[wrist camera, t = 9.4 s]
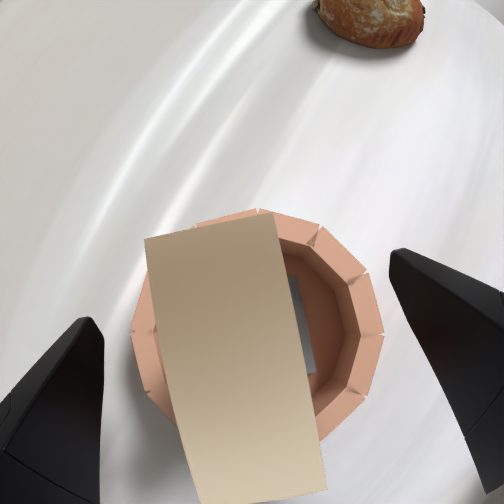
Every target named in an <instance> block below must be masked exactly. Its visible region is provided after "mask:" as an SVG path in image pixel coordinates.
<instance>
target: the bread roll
mask: <svg viewBox="0 0 504 504" xmlns="http://www.w3.org/2000/svg"><path fill="white" fill-rule="evenodd" d="M312 7H313V9H314V10H316V11H317V12H318V14H319V16H320V17H321V18H322V20H323V21H324V22H325V23H326V24H327V25H328V26H329V28H330V29H331V30H332V31H333V32H335V33H336V34H337V35H339V36H340V37H342V38H344V39H346V40H349V41H351V42H354V43H357V44H361V45H364V46H367V47H372V48H389V47H392V48H393V47H401V46H406V45H408V44H410V43H411V42H413V41H415V40H416V39H417V37H418V35H419V34H420V33H421V32H422V31H423V26H424V18H425V16H424V15H423V14H425V7H424V6H423V5H422V3H421V2H420V0H315V1H314V3H313V4H312Z"/></svg>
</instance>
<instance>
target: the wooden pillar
mask: <svg viewBox="0 0 504 504" xmlns="http://www.w3.org/2000/svg"><path fill="white" fill-rule="evenodd" d="M144 243H145V252H146V260H147V268H148V276H149V283H150V290H151V297H152V303H153V310H154V316H155V322H156V328H157V333H158V339H159V344H160V350H161V355H162V360H163V365H164V370H165V374H166V379H167V384H168V388H169V393H170V397H171V401H172V405H173V410H174V414H175V418H176V422H177V426H178V429H179V433H180V437H181V441H182V444H183V448H184V452H185V455H186V459H187V462H188V465H189V469H190V472H191V475H192V479H193V482H194V485H195V488H196V491H197V494H198V497H199V500H200V503H201V504H253V503H260V502H268V501H274V500H280V499H286V498H292V497H297V496H302V495H307V494H311V493H316V492H320V491H324V490H328V489H327V483H326V477H325V471H324V465H323V459H322V453H321V448H320V442H319V436H318V431H317V425H316V420H315V414H314V409H313V403H312V398H311V392H310V387H309V382H308V377H307V374H309V373H313V372H316V367H315V362H314V357H313V352H312V347H311V342H310V337H309V332H308V327H307V322H306V317H305V312H304V307H303V303H302V298H301V293H300V289H299V284H298V279H297V275H295V276H290V277H287V274H286V269H285V265H284V260H283V255H282V251H281V246H280V242H279V237H278V233H277V228H276V224H275V220H274V215H273V212H271V213H266V214H260V215H255V216H250V217H245V218H240V219H236V220H231V221H226V222H221V223H216V224H211V225H207V226H202V227H197V228H193V229H188V230H183V231H179V232H174V233H170V234H165V235H161V236H156V237H152V238H147V239H144Z"/></svg>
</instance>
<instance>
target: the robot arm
mask: <svg viewBox="0 0 504 504" xmlns="http://www.w3.org/2000/svg"><path fill="white" fill-rule="evenodd" d="M389 279H390V282H391V284H392V286H393V289H394V291H395V293H396V295H397V298H398V300H399V302H400V305H401V307H402V309H403V312H404V314H405V316H406V319H407V321H408V323H409V325H410V327H411V329H412V331H413V332H414V334H415V336H416V338H417V340H418V342H419V344H420V345H421V347H422V349H423V351H424V353H425V355H426V357H427V359H428V361H429V363H430V365H431V367H432V369H433V371H434V373H435V375H436V377H437V379H438V381H439V383H440V385H441V387H442V389H443V391H444V393H445V395H446V397H447V400H448V402H449V404H450V406H451V408H452V410H453V413H454V415H455V417H456V419H457V422H458V424H459V426H460V429H461V431H462V433H463V436H464V437H465V441H466V443H467V446H468V448H469V451H470V453H471V456H472V458H473V461H474V463H475V466H476V468H477V471H478V474H479V477H480V479H481V482H482V485H483V488H484V490H485V493H486V494H488V493H490V492H491V491H493V490H495V489H496V488H498V487H500V486H501V485H503V484H504V292H502V291H500V292H499V290H497V289H495V288H493V287H491V286H489V285H487V284H485V283H483V282H481V281H478V280H476V279H474V278H472V277H470V276H468V275H465V274H463V273H461V272H459V271H457V270H454V269H452V268H450V267H448V266H445V265H443V264H441V263H439V262H436V261H434V260H432V259H429V258H427V257H425V256H422V255H420V254H418V253H415V252H413V251H411V250H408V249H406V248H400V249H396V250H393V251H392V252H391V255H390V265H389ZM103 391H104V337H103V335H102V333H101V331H100V330H99V328H98V327H97V325H96V324H95V322H94V320H93V319H92V318H91V317H88V316H87V317H82V318H78V319H77V320H76V321H75V322H74V323H73V324H72V325H71V326H70V327H69V328H68V329H67V330H66V331H65V332H64V333H63V334H62V335H61V336H60V337H59V339H58V340H57V341H56V342H55V343H54V344H53V345H52V346H51V347H50V348H49V349H48V350H47V351H46V352H45V353H44V355H43V356H42V357H41V358H40V359H39V360H38V361H37V362H36V363H35V364H34V365H33V367H32V368H31V369H30V370H29V371H28V372H27V373H26V374H25V375H24V377H23V378H22V379H21V380H20V381H19V382H18V383H17V385H16V386H15V387H14V388H13V389H12V390H11V393H9V394H8V395H7V396H6V397H5V398H4V400H3V401H2V402H1V403H0V504H100V483H99V469H100V434H101V416H102V403H103Z"/></svg>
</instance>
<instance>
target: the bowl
mask: <svg viewBox="0 0 504 504" xmlns="http://www.w3.org/2000/svg"><path fill="white" fill-rule="evenodd" d="M266 213H271V211H268V210H264V209H259V212H258V214H257V211H256V209H252V210H248V211H244V212H240V213H236V214H232V215H228V216H224V217H220V218H217V219H213V220H209V221H205V222H201V223H198V224H196V225H197V227H202V226H207V225H211V224H216V223H221V222H226V221H231V220H236V219H240V218H245V217H250V216H255V215H260V214H266ZM273 215H274V220H275V224H276V228H277V233H278V237H279V242H280V246H281V251H282V255H283V260H284V265H285V269H286V274H287V277H290V276H295V275H297V279H298V284H299V289H300V293H301V298H302V303H303V307H304V312H305V317H306V322H307V327H308V332H309V337H310V342H311V347H312V352H313V357H314V362H315V367H316V372H313V373H309V374H307V377H308V382H309V387H310V392H311V398H312V403H313V409H314V414H315V420H316V425H317V431H318V436H319V441H322V440H323V439H324V438H325V437H326V436H327V435H328V434H329V433H331V432H332V431H333V430H334V429H335V428H336V427H337V426H338V425H339V424H340V423H341V422H342V421H343V420H345V419H346V418H347V417H348V416H349V415H350V414H351V413H352V412H353V411H354V410H355V409H356V408H357V407H358V406H359V405H360V404H361V403H362V402H363V401H364V400H365V398H364V397H363V396H362V395H366V396H367V395H368V392H369V389H370V386H371V382H372V379H373V376H374V372H375V369H376V365H377V362H378V358H379V355H380V351H381V347H382V343H383V339H384V336H382V335H378V334H381V333H384V329H383V325H382V321H381V317H380V313H379V309H378V305H377V301H376V298H375V294H374V290H373V287H372V283H371V280H370V276H369V273H366V274H363V273H364V272H365V271H366V270H367V269H366V268H365V267H364V266H363V265H362V264H361V263H360V262H359V261H358V260H357V259H356V258H355V257H354V256H353V255H352V254H351V253H350V252H349V251H348V250H347V249H346V248H345V247H344V246H343V245H342V244H341V243H340V242H339V241H337V240H336V239H335V238H334V237H333V236H332V235H331V234H330V233H329V232H328V231H327V230H326V229H325V228H324V227H323V226H322V227H321V228H320V229H319V230H318V228H319V224H316V223H313V222H309V221H305V220H302V219H298V218H294V217H290V216H287V215H283V214H279V213H275V212H273ZM193 228H195V227H194V226H192V227H191V228H190V229H193ZM362 274H363V275H362ZM131 329H132V330H134V331H136V332H131V333H130V334H131V338H132V343H133V347H134V351H135V355H136V360H137V364H138V368H139V372H140V375H141V379H142V383H143V387H144V390H145V391H150V392H149V393H148V394H147V396H148V397H149V398H150V399H151V400H152V401H153V402H154V403H155V404H156V405H157V407H158V408H159V409H160V410H161V411H162V412H163V413H164V414H165V415H166V416H167V417H168V418H169V419H170V420H171V421H172V422H173V423H174V424H175V425H176V426H177V422H176V418H175V414H174V410H173V405H172V401H171V397H170V393H169V388H168V384H167V379H166V374H165V370H164V365H163V360H162V355H161V350H160V344H159V339H158V333H157V328H156V322H155V316H154V310H153V303H152V297H151V290H150V283H149V276H148V271H147V274H146V277H145V280H144V283H143V287H142V290H141V293H140V297H139V300H138V303H137V307H136V310H135V314H134V318H133V321H132V325H131ZM177 427H178V426H177Z"/></svg>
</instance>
